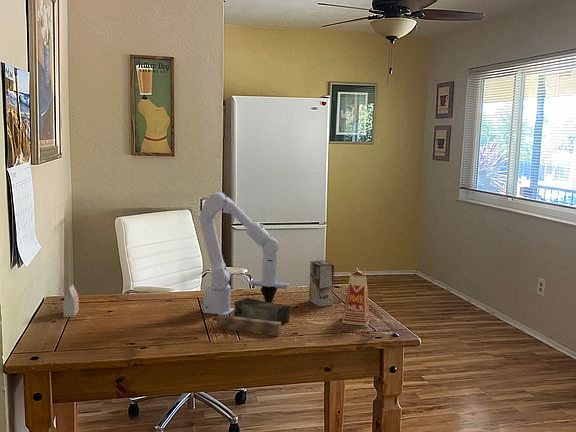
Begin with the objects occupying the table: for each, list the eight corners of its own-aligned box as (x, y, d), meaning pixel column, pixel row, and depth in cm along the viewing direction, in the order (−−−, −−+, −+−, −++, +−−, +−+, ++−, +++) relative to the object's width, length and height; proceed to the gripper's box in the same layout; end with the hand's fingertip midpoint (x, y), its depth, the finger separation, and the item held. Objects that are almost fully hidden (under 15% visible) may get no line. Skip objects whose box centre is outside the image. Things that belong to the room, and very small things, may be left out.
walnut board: (216, 328, 198) (216, 316, 197) (219, 325, 200) (219, 314, 199) (278, 336, 191) (278, 324, 191) (280, 333, 194) (281, 322, 193)
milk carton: (367, 325, 204) (370, 269, 202) (341, 323, 206) (343, 267, 203) (369, 317, 213) (372, 264, 211) (344, 315, 215) (346, 262, 212)
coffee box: (333, 305, 228) (335, 264, 226) (318, 306, 225) (320, 266, 223) (322, 298, 236) (323, 260, 234) (308, 300, 233) (309, 261, 231)
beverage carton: (246, 312, 216) (246, 295, 216) (290, 322, 207) (291, 304, 206) (233, 317, 210) (233, 300, 209) (278, 328, 200) (279, 309, 199)
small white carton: (63, 317, 205) (62, 289, 203) (68, 311, 211) (67, 284, 210) (74, 316, 205) (74, 289, 204) (78, 311, 212) (78, 284, 210)
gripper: (247, 270, 212) (246, 307, 214) (285, 274, 208) (284, 311, 210) (253, 266, 219) (253, 302, 221) (291, 270, 215) (290, 306, 217)
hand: (268, 306), depth 216 cm, fingers closed
